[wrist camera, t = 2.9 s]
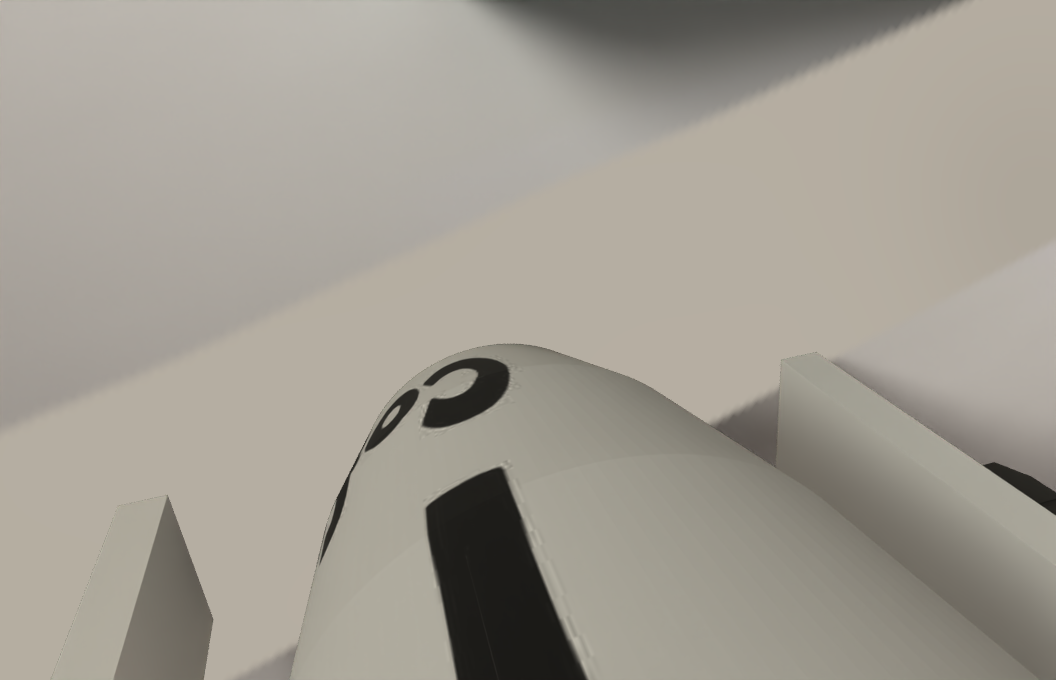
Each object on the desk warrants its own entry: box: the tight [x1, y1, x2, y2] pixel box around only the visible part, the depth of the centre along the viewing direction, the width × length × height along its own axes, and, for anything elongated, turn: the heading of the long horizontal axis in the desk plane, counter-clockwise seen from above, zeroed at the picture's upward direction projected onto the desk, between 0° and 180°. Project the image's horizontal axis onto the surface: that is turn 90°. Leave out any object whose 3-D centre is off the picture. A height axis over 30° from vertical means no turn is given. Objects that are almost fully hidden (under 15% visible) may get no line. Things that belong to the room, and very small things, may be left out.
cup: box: [289, 344, 1040, 680], centre depth 10 cm, size 8×8×10 cm
